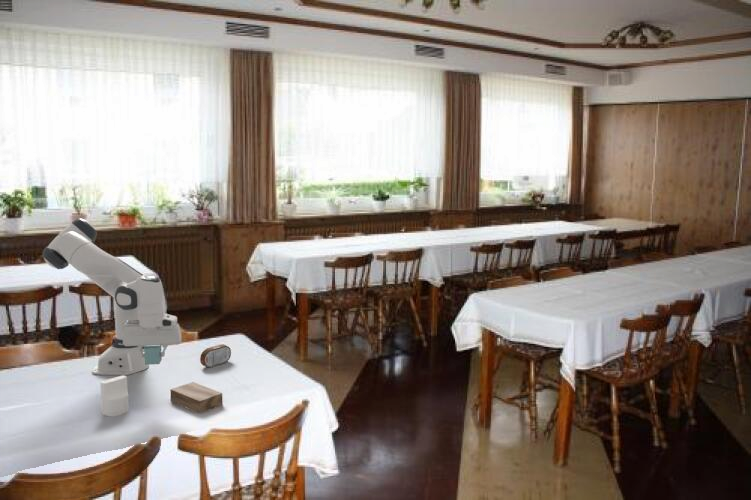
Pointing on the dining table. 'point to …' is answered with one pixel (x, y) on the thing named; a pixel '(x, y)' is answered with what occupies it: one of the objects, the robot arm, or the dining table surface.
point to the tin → (215, 355)
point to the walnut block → (196, 397)
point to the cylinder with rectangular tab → (114, 396)
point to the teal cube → (152, 354)
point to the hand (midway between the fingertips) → (153, 356)
